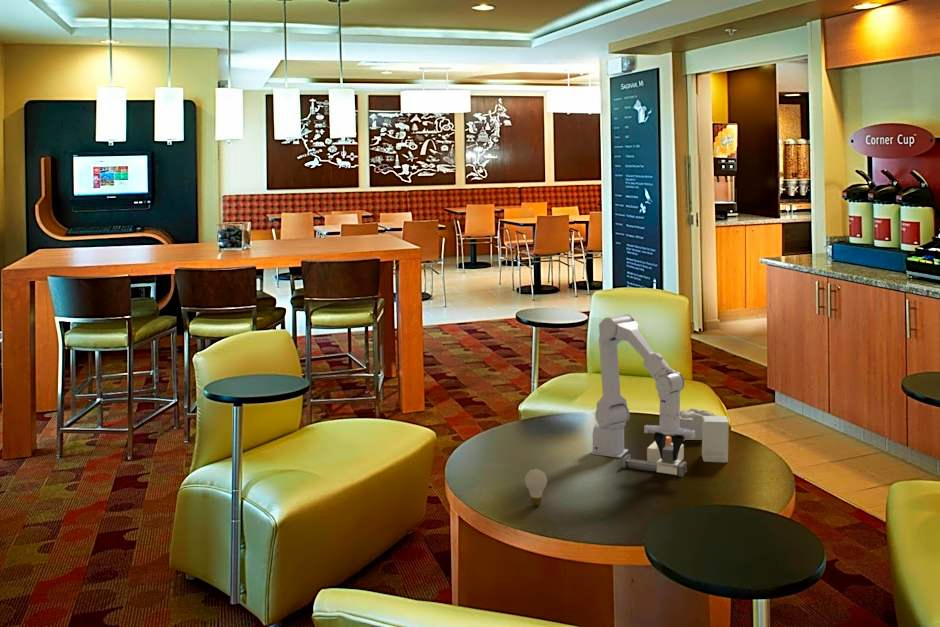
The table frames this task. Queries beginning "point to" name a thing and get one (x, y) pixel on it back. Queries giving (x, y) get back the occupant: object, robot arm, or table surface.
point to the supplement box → (715, 438)
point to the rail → (649, 465)
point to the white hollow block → (654, 453)
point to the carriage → (668, 462)
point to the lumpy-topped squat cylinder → (693, 421)
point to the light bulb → (535, 485)
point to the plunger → (668, 441)
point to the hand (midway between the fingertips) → (669, 458)
